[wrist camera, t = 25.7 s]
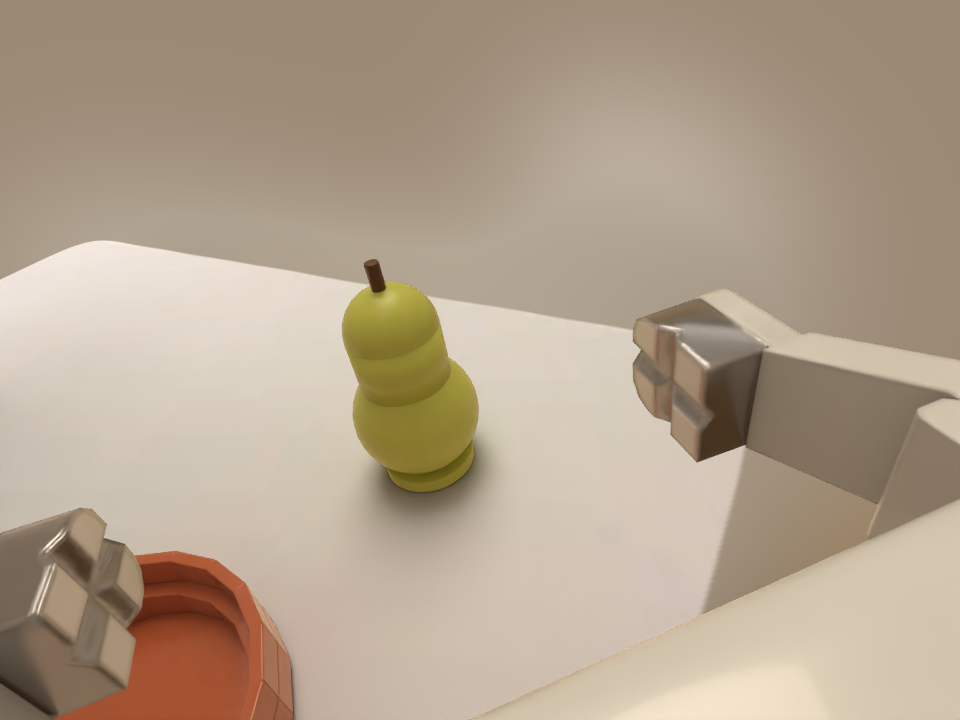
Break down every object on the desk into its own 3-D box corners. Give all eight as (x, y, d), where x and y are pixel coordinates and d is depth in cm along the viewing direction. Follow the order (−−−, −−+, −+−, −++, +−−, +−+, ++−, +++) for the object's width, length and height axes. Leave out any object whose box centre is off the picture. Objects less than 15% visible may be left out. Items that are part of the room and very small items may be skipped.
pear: (386, 522, 26) (301, 320, 19) (365, 440, 31) (292, 255, 24) (505, 477, 27) (464, 270, 20) (467, 404, 32) (424, 217, 25)
